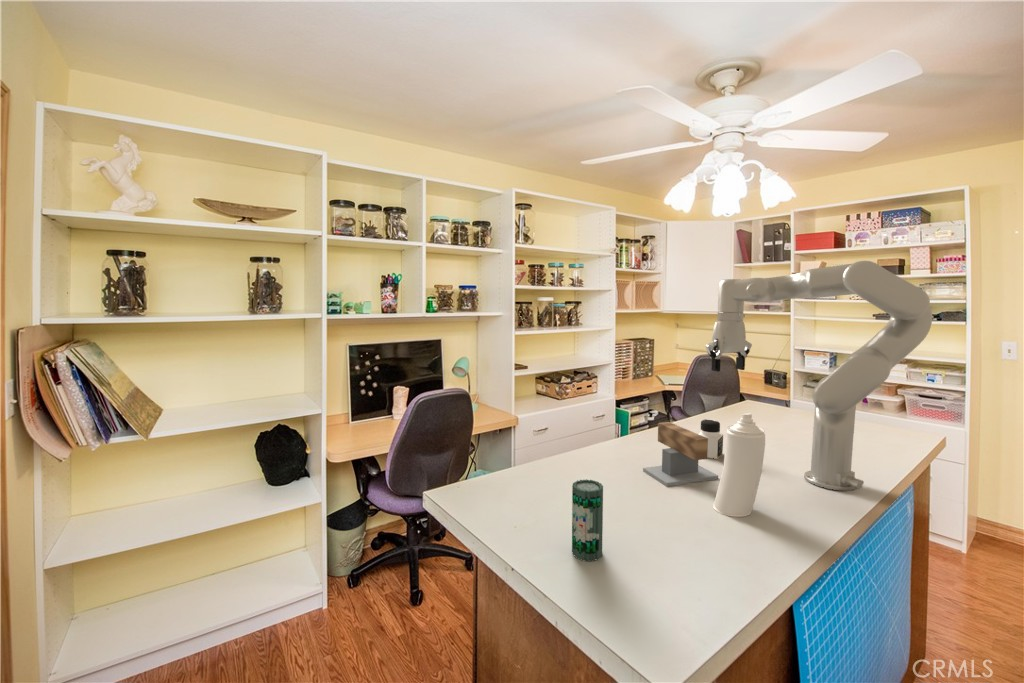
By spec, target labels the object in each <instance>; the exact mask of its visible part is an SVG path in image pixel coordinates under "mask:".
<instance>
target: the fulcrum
mask: <svg viewBox="0 0 1024 683" xmlns="http://www.w3.org/2000/svg"><path fill="white" fill-rule="evenodd" d="M661 451H662V452H661V456H662V457H661V465H657V466H655V465H654V466H648V467H643V468H642V472H644V473H645V474H646V475H649V476H650V477H651V478H653V479H654V480H656V481H658V482H659V483H661V484H662V485H664V486H665V487H671V486H678V485H685V484H691V483H697V482H698V483H700V482H704V481H712V479H713V480H718V479H719V475H718V474H716V473H714V472H713V471H711V470H709V469H707V468H704V467H703V466H701V465H699V460H694V459H692V458H690V457H688V456H686V455H684V454H682V453H680V452H678V451H676V450H674V449H672V448H670V447H668V448H662V450H661Z"/></svg>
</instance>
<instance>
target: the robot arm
mask: <svg viewBox="0 0 1024 683" xmlns="http://www.w3.org/2000/svg"><path fill="white" fill-rule="evenodd" d="M717 291H718V294H717V298H718V299H717V320H716V321H715V322H714V325H713V328H712V334H711V335H712V336H711V342H709V343H708V344H706V345H705V349H706V352H707V355H708V356H709V358H710V359H711V371H712V372H717V373H718V372H721V361H722V360H721V359H720V358H721V356H722V355H723V354H736V355H737V356H736V358H735V369H736V370H740V371H744V370H745V369H746V368H745V367H746V358H747V357H748V354H749V353H750V352H751V351H750V350H751V348H752V347H753V344H752V343H751V342H749V341H748V340H746V339H747V337H746V335H747V334H746V327H745V322H744V318H745V316H746V314H744V310H745V309H744V307H745V302H750V303H766V302H772V301H773V302H774V301H782V300H793V299H805V300H808V299H818V298H829V297H830V298H831V297H838V296H848V295H856V296H858V297H860V298H861V299H863V300H865V301H866V302H867V303H870V305H872V306H875V307H876V308H878V309H880V310H881V311H883V312H884V313H885V314H888V315H889V316H890V317H889V320H888V322H887V323H886V325H885V326H884V327H882V328H881V330H879V331H878V332H877V333H876V334H875V335H874V336H873V337H872V338H870V340H869V341H867V342H866V343H865V344H864V345H862V346H861V347H860V348H858V349H856V350H855V351H853V352H852V353H851V354H850V355H849V356H848V358H846V359H845V360H844V361H843V362H842V363H841V364H839V366H838V367H836V368H835V369H834V370H833V371H832V372H831V373H829V375H827V376H824V377H823V378H821V379H820V380H819V381H818V382H817V384H816V385H815V386H814V388H813V391H812V393H811V394H812V396H811V397H812V402H813V405H814V415H813V428H812V430H813V431H812V443H811V444H812V446H811V460H810V463H811V464H810V470H807V471H805V472H804V480H805V481H807V482H808V483H810V484H812V485H814V484H815V486H817V487H820V488H823V487H824V489H828V490H832V489H833V490H834V491H842V492H843V491H844V492H845V491H846V492H847V490H848V491H853V490H856V489H857V490H861V489H862V487H863V485H864V480H862V479H860V478H856V472H855V471H853V470H852V463H853V462H852V460H853V450H854V448H853V447H854V434H855V423H856V422H855V420H856V410H857V405H858V404H859V403H860V402H861V401H863V400H864V399H866V397H868V396H869V395H870V394H872V393H873V392H875V390H877V389H878V388H879V387H880V386H881V385H883V384H884V383H885V381H887V380H888V378H889V376H890V374H891V371H892V369H893V368H895V366H896V365H898V364H899V363H900V362H901V361H903V360H904V359H905V358H907V356H908V355H910V354H911V352H913V351H914V350H915V349H916V348H917V347H918V346H919V345H920V344H921V343H922V342H924V340H925V339H926V338H927V336H928V334H929V332H930V330H931V327H932V322H933V310H932V308H931V304H930V297H929V294H928V293H927V292H926V291H924V290H923V289H922V288H920V287H918V286H916V285H915V284H913V283H911V282H909V281H907V280H905V279H904V278H902V277H901V276H898V275H896V274H894V273H893V272H891V271H889V270H887V269H886V268H884V266H881V265H879V264H877V263H876V262H874V261H871V260H860V261H855V262H854V263H847V264H839V265H831V266H825V267H816V268H815V267H814V268H809V269H805V270H802V271H800V272H797V273H794V274H788V275H781V276H773V277H772V276H771V277H751V278H744V279H739V278H732V279H731V278H730V279H728V278H727V279H721V280H720V281H719V283H718V290H717Z"/></svg>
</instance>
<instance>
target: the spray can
mask: <svg viewBox="0 0 1024 683" xmlns="http://www.w3.org/2000/svg"><path fill="white" fill-rule="evenodd" d="M752 417H753V414H752V413H751V412H747V413H746V412H745V413H742V414H741V417H740V418H739V420H737V423H735V424H731V425H729V426H727V430H726V434H725V447H724V448H725V449H724V457H723V468H722V470H721V476H720V479H719V483H718V487H717V491H716V496H715V498H714V502H713V504H712V508H713V510H715V511H716V512H717V513H719V514H722V515H723V516H728V517H735V518H744V517H748V516H749V515H751V513H752V510H753V508H754V505H755V502H756V499H757V498H756V497H757V494H758V491H759V490H758V489H759V486H760V481H761V477H762V473H763V464H764V457H765V449H766V434H765V430H764V429H763V428H761V427H759V426H758V425H757V424H756V422H754V420H753V418H752Z"/></svg>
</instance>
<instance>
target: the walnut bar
mask: <svg viewBox="0 0 1024 683" xmlns="http://www.w3.org/2000/svg"><path fill="white" fill-rule="evenodd" d="M657 442H658V443H661V444H662V445H664V446H666V447H668V448H672V449H674V450H676V451H678V452H680V453H682V454H684V455H686V456H688V457H690V458H692V459H694V460H698V461H699V460H701V461H702V460H707V459H708V457H707V452H708V438H706V437H703V436H701V435H699V433H696V432H694V431H691V430H689V429H687V428H684V427H682V426H680V425H677V424H675V423H673V422H671V421H665V422H658V424H657Z"/></svg>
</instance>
